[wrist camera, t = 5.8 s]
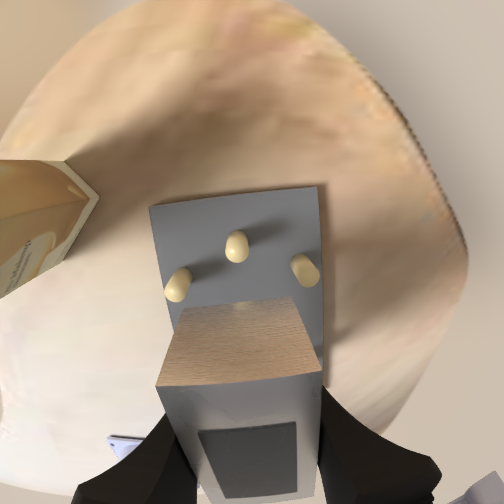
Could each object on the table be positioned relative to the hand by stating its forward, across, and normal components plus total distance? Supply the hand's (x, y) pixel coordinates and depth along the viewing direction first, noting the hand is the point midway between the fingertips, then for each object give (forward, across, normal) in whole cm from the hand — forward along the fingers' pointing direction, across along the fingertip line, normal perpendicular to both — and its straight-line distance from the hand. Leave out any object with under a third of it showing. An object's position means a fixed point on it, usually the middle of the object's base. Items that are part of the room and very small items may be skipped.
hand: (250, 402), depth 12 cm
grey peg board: (+8, 0, 0) cm, 8 cm away
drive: (+2, 0, 0) cm, 2 cm away
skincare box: (+9, +12, -9) cm, 17 cm away
